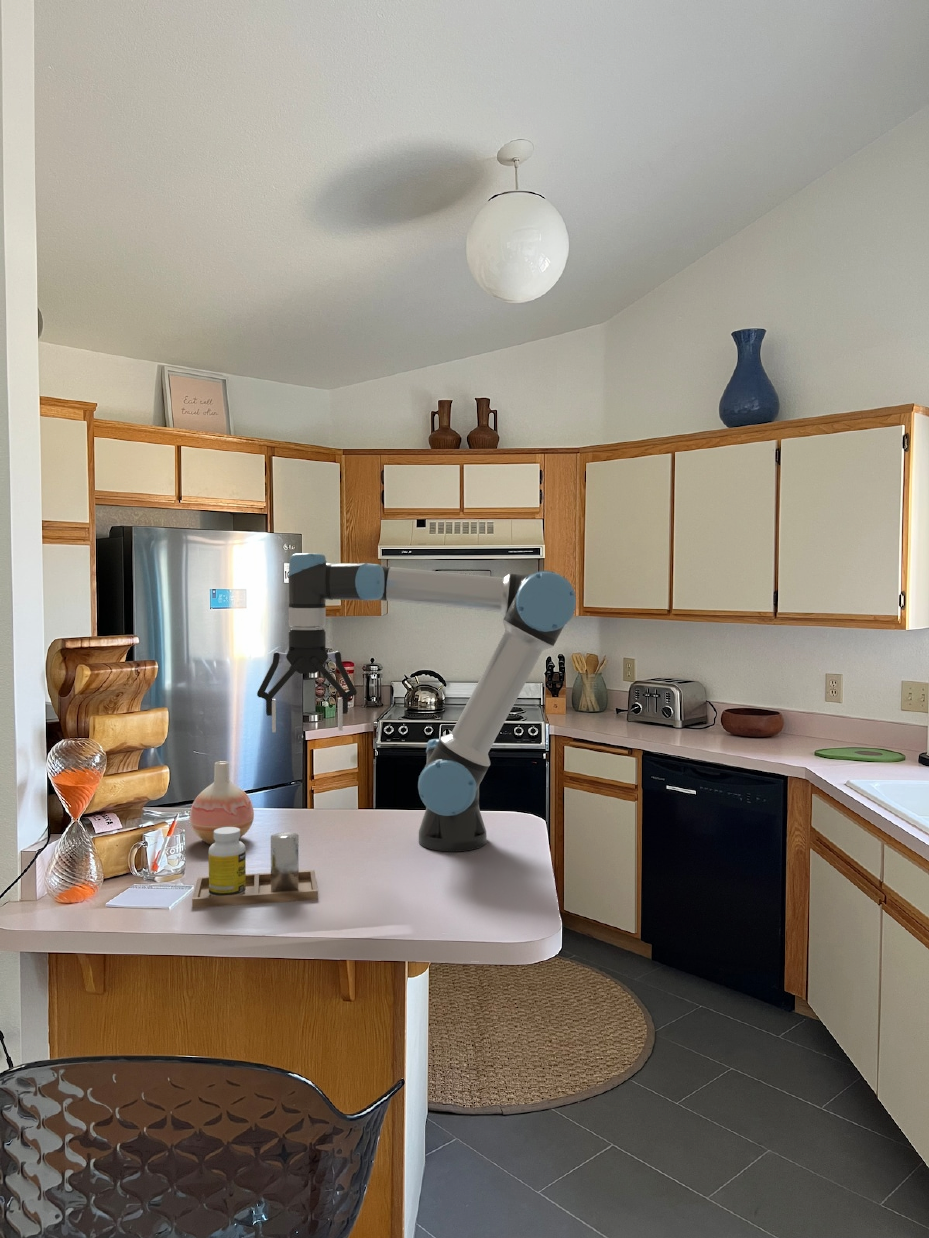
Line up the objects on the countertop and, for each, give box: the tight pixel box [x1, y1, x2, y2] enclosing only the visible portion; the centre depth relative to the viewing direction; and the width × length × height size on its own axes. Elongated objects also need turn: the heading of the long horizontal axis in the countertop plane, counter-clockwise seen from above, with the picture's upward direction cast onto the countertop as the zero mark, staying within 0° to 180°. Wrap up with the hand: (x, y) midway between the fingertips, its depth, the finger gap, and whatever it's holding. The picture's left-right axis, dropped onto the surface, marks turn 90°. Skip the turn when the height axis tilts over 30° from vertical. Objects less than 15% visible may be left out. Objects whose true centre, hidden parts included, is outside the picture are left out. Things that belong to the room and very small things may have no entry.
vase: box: [189, 760, 255, 846], centre depth 196 cm, size 14×14×18 cm
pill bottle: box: [208, 827, 247, 896], centre depth 160 cm, size 6×6×12 cm
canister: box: [270, 831, 300, 892], centre depth 162 cm, size 5×5×10 cm
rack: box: [191, 869, 319, 909], centre depth 161 cm, size 21×12×3 cm, turn 102°
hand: (307, 730), depth 184 cm, fingers open, 13 cm apart
